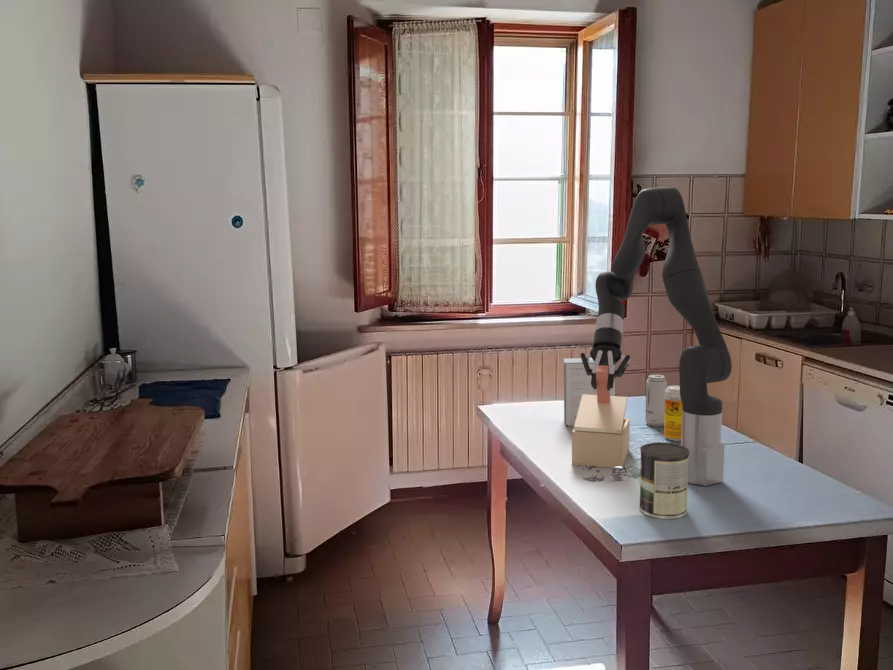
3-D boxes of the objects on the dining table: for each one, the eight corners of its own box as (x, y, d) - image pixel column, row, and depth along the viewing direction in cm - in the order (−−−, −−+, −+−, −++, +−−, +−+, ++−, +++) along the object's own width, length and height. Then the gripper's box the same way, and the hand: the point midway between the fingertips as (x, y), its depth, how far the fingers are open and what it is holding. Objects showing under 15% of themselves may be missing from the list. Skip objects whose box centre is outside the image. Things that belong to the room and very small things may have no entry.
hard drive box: (613, 420, 251) (614, 357, 248) (615, 426, 243) (616, 362, 240) (563, 419, 253) (563, 357, 249) (564, 426, 245) (564, 362, 242)
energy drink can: (642, 421, 248) (643, 374, 246) (661, 421, 249) (663, 373, 246) (648, 427, 242) (649, 378, 240) (668, 426, 243) (669, 378, 240)
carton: (581, 446, 224) (581, 415, 223) (629, 450, 220) (629, 418, 219) (571, 464, 209) (572, 431, 208) (622, 469, 205) (623, 435, 204)
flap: (582, 397, 220) (580, 363, 215) (627, 399, 216) (626, 365, 211) (573, 431, 207) (571, 396, 202) (621, 434, 204) (619, 399, 198)
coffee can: (630, 512, 177) (632, 450, 175) (651, 498, 185) (652, 439, 182) (675, 523, 170) (677, 459, 168) (694, 508, 178) (696, 447, 176)
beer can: (664, 441, 228) (665, 389, 226) (663, 434, 234) (665, 384, 232) (686, 442, 227) (688, 390, 224) (685, 436, 233) (687, 385, 230)
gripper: (581, 325, 219) (573, 379, 210) (633, 327, 215) (628, 382, 206) (584, 340, 225) (576, 394, 216) (635, 342, 221) (629, 397, 212)
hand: (601, 388), depth 211 cm, fingers closed on flap, 3 cm apart
